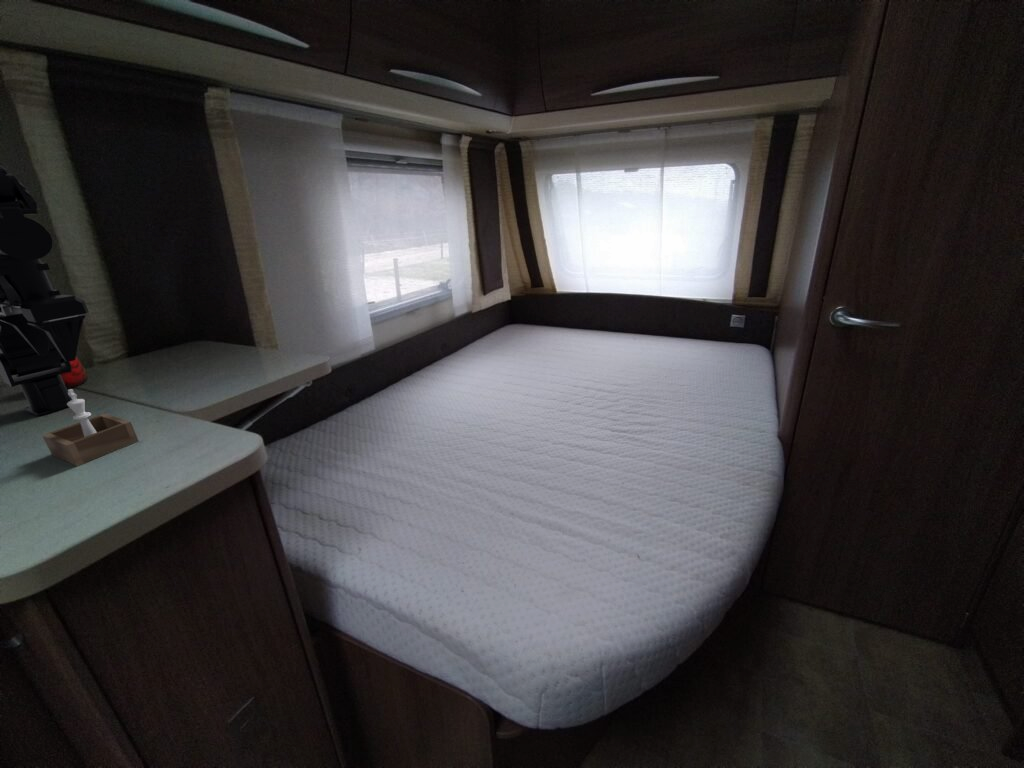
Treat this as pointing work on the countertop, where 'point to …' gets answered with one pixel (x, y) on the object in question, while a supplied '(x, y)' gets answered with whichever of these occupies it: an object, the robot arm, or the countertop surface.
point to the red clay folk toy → (75, 375)
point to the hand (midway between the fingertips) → (57, 357)
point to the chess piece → (81, 413)
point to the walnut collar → (90, 439)
